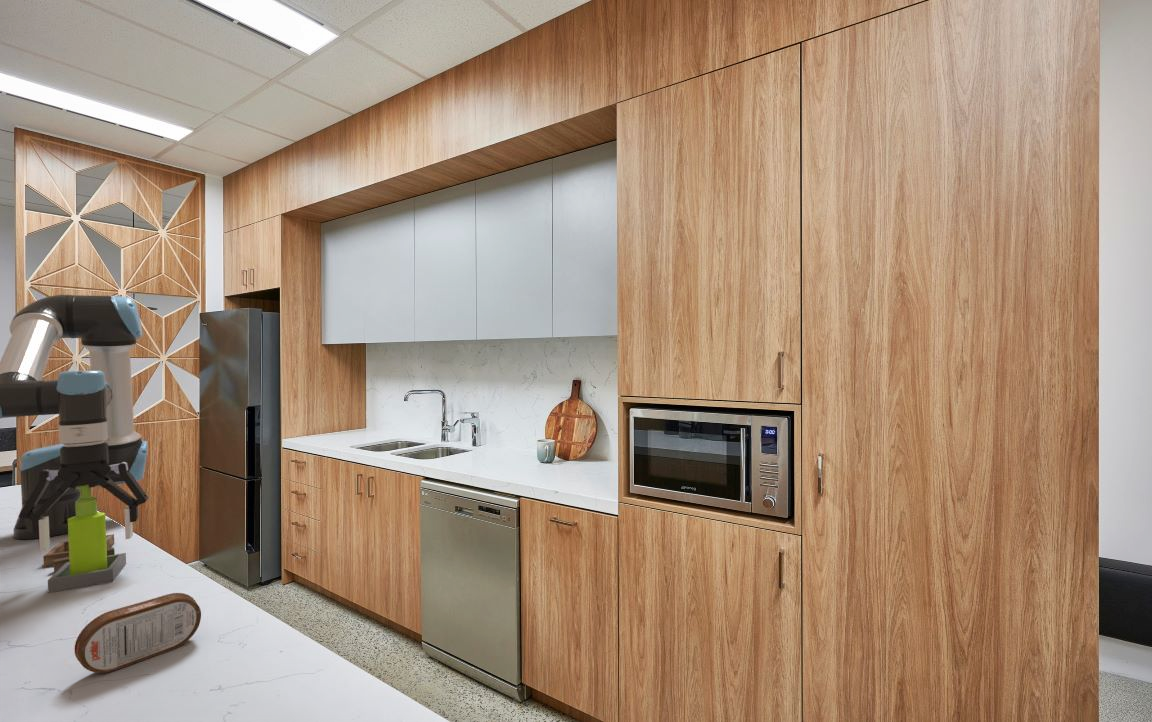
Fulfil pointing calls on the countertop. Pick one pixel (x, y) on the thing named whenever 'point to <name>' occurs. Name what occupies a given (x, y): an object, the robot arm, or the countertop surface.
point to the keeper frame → (86, 575)
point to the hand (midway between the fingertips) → (88, 543)
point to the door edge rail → (60, 562)
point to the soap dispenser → (87, 535)
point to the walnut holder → (67, 551)
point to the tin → (137, 632)
